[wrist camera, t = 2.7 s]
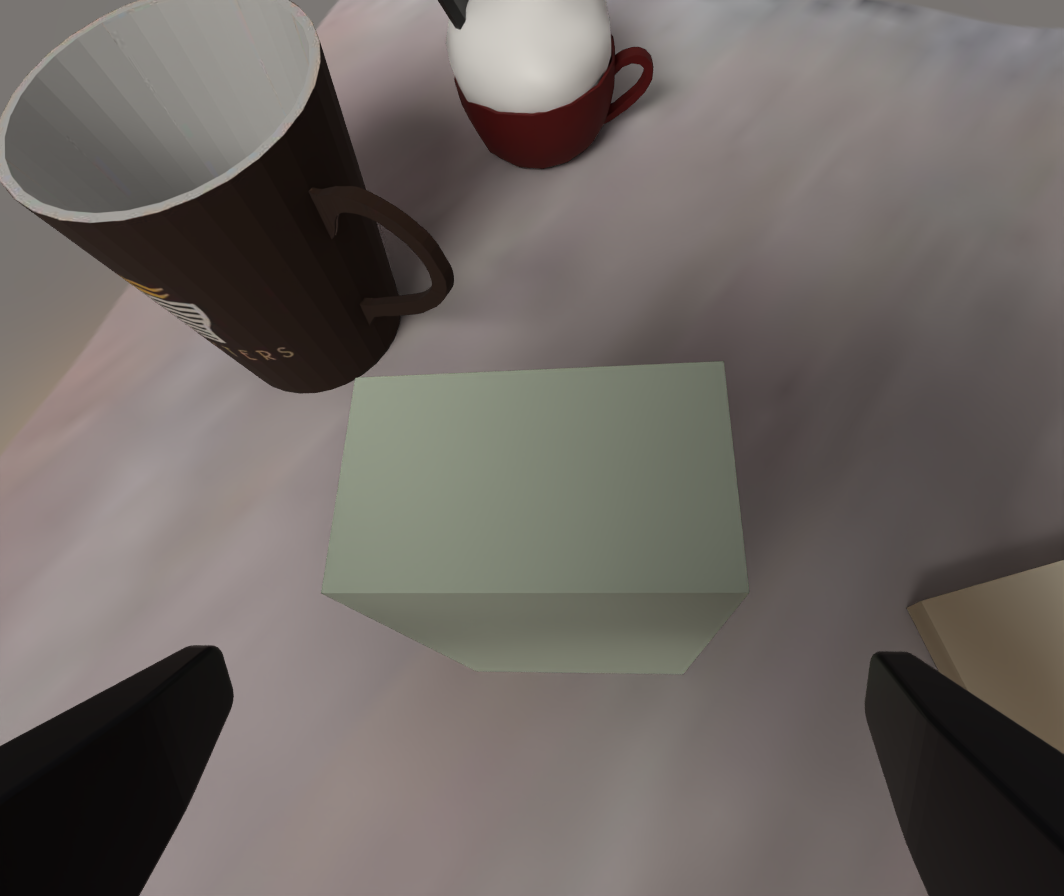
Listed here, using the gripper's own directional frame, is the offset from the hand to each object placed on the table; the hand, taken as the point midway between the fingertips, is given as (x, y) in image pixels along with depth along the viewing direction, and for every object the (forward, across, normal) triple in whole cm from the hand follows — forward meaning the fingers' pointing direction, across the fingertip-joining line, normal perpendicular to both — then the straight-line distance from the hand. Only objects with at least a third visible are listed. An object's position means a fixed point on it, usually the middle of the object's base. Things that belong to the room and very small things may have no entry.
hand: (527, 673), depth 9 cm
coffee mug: (+17, +9, -1) cm, 19 cm away
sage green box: (+10, 0, +6) cm, 11 cm away
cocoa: (+24, +2, -8) cm, 26 cm away
